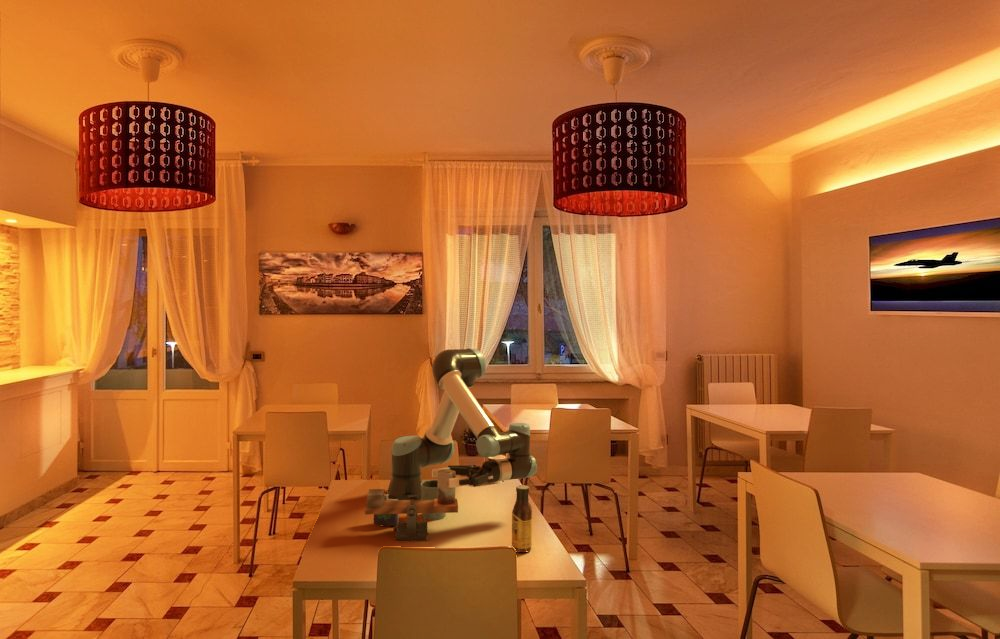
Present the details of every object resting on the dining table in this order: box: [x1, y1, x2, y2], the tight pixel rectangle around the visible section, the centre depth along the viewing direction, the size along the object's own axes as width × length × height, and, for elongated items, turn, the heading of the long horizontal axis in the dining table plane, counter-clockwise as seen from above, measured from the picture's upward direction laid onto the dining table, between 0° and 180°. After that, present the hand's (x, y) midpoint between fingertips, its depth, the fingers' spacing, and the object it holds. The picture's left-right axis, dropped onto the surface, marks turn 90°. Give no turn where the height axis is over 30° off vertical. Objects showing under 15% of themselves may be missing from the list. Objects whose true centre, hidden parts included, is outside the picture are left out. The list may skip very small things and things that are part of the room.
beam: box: [364, 488, 459, 515], centre depth 199 cm, size 30×9×6 cm, turn 96°
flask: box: [373, 493, 400, 528], centre depth 208 cm, size 9×3×11 cm, turn 74°
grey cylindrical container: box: [420, 479, 447, 521], centre depth 217 cm, size 10×10×12 cm
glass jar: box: [437, 470, 457, 505], centre depth 201 cm, size 6×6×10 cm
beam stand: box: [395, 495, 428, 542], centre depth 199 cm, size 10×14×11 cm
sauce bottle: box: [511, 484, 533, 553], centre depth 186 cm, size 6×6×20 cm
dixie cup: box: [487, 454, 507, 484], centre depth 264 cm, size 8×8×11 cm
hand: (440, 478), depth 200 cm, fingers open, 13 cm apart
